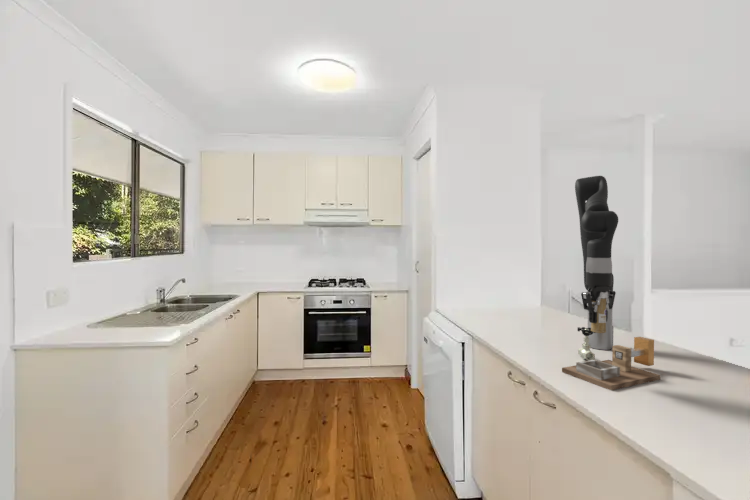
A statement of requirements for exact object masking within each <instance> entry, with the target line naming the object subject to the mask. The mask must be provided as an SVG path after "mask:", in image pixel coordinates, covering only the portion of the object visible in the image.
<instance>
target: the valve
mask: <svg viewBox="0 0 750 500" xmlns="http://www.w3.org/2000/svg"><path fill="white" fill-rule="evenodd" d="M580 331H581V334H582V335H583V336H584V337H583V343H581V347H580V348H578V349H577V352H578V353H577V354H578V355H579V356H580V357H581V358H582V359H583V360H584V361H588V360H594V359H595V358H596V357H595V356H596V355H595V353H593V352H592V350H590V349H592V348H591V345H589V343H588V342H589V338H588V336H589V335H592V334H593V333H596V332H592V331H591V328H588V327H585V326H582V327H577V332H580ZM595 360H596V359H595Z"/></svg>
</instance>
